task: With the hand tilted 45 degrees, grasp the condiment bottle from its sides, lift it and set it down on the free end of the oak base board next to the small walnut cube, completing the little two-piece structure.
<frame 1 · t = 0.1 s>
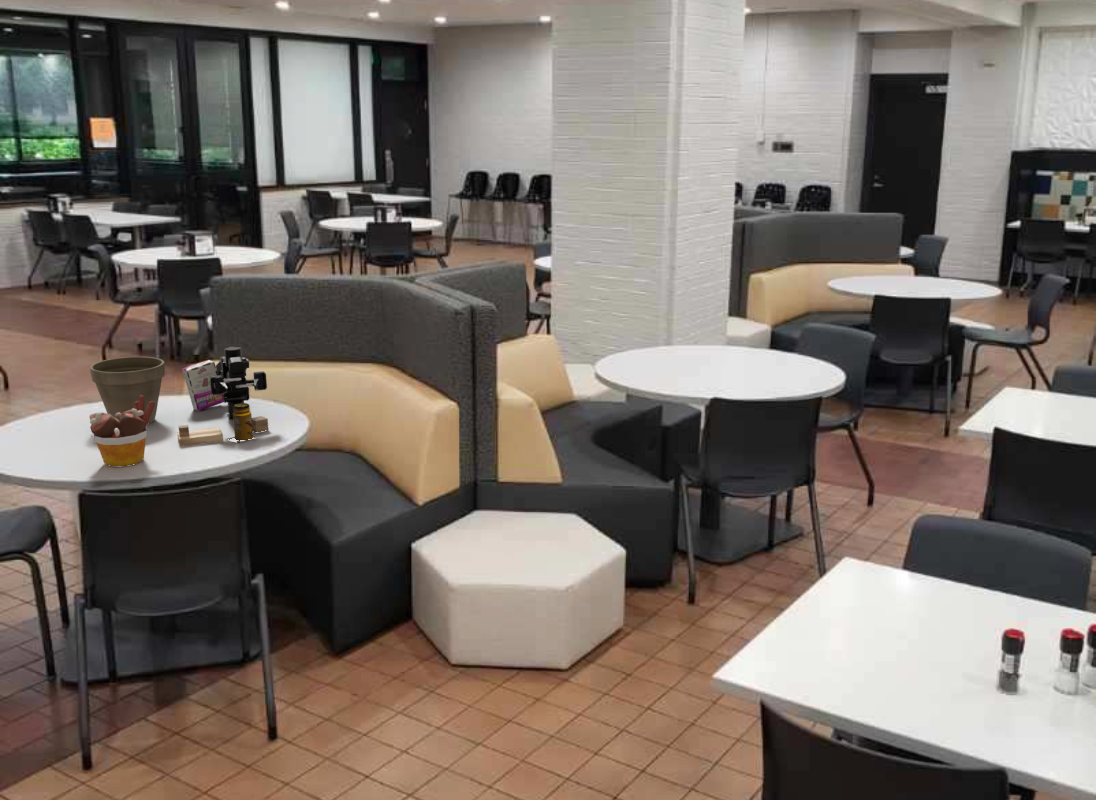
hand: (241, 388, 368), 16 cm above the table, tool horizontal, fingers open, 9 cm apart
bucket of meat: (126, 462, 345), on the table
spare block: (259, 430, 377), on the table
foundation: (200, 440, 366), on the table
plant pot: (134, 422, 390), on the table
condiment: (241, 439, 367), on the table
candy bar box: (209, 406, 408), point 1 cm above the table
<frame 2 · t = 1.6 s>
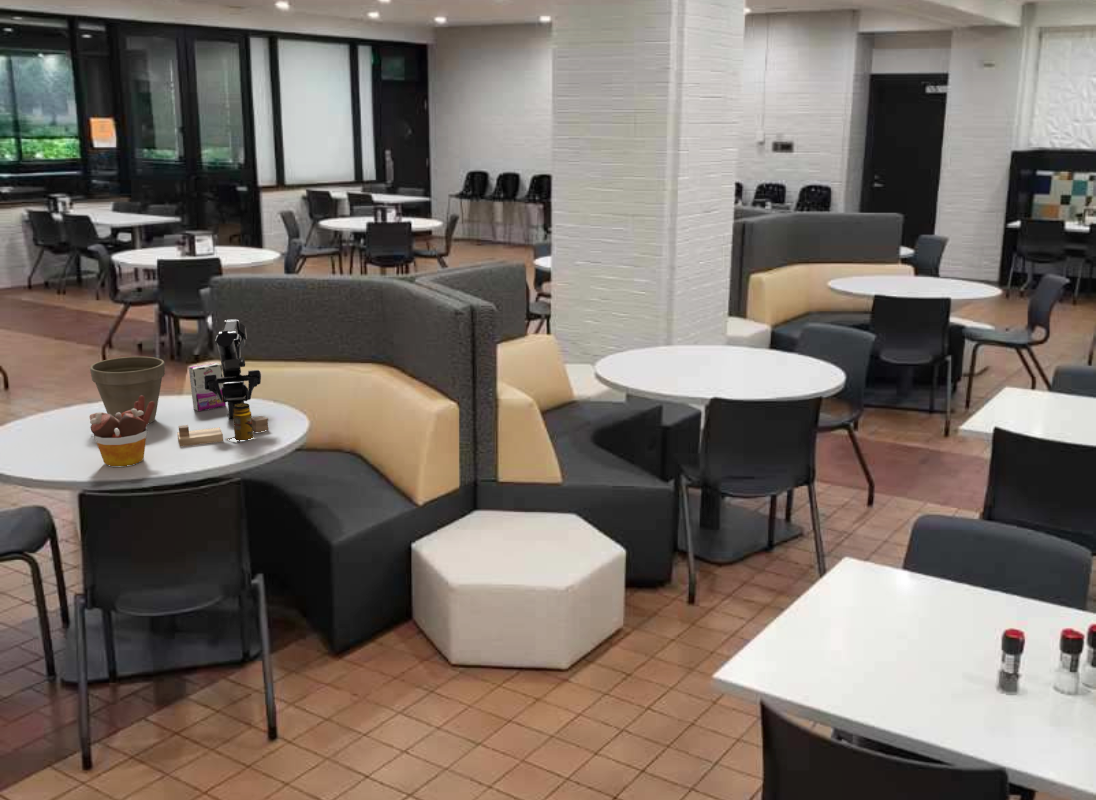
hand: (236, 400, 370), 12 cm above the table, tool tilted 45°, fingers open, 9 cm apart
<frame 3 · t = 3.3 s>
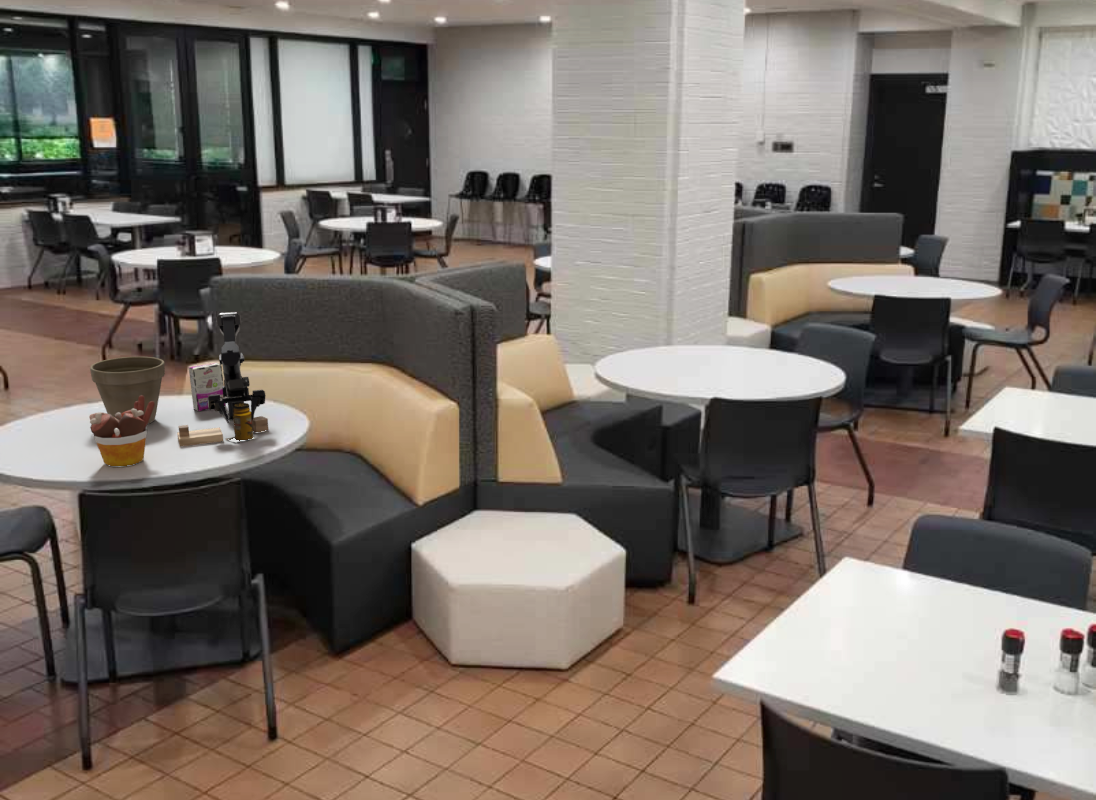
hand: (240, 420, 365), 7 cm above the table, tool tilted 45°, fingers open, 8 cm apart
condiment: (241, 439, 367), on the table, touching gripper
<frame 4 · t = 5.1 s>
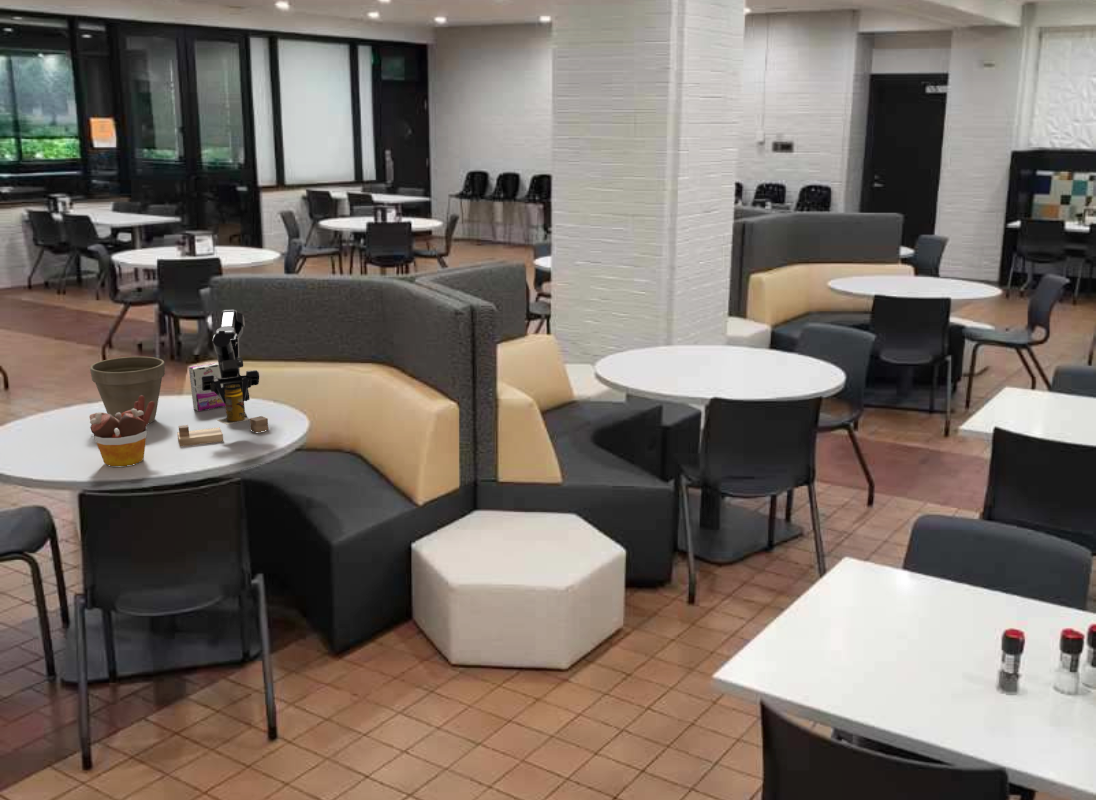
hand: (234, 401, 363), 13 cm above the table, tool tilted 45°, fingers closed on condiment, 6 cm apart
condiment: (233, 421, 366), point 6 cm above the table, touching gripper
when the fingers open (10 cm above the table, at t = 6.8 s): condiment stays where it is, resting on foundation.
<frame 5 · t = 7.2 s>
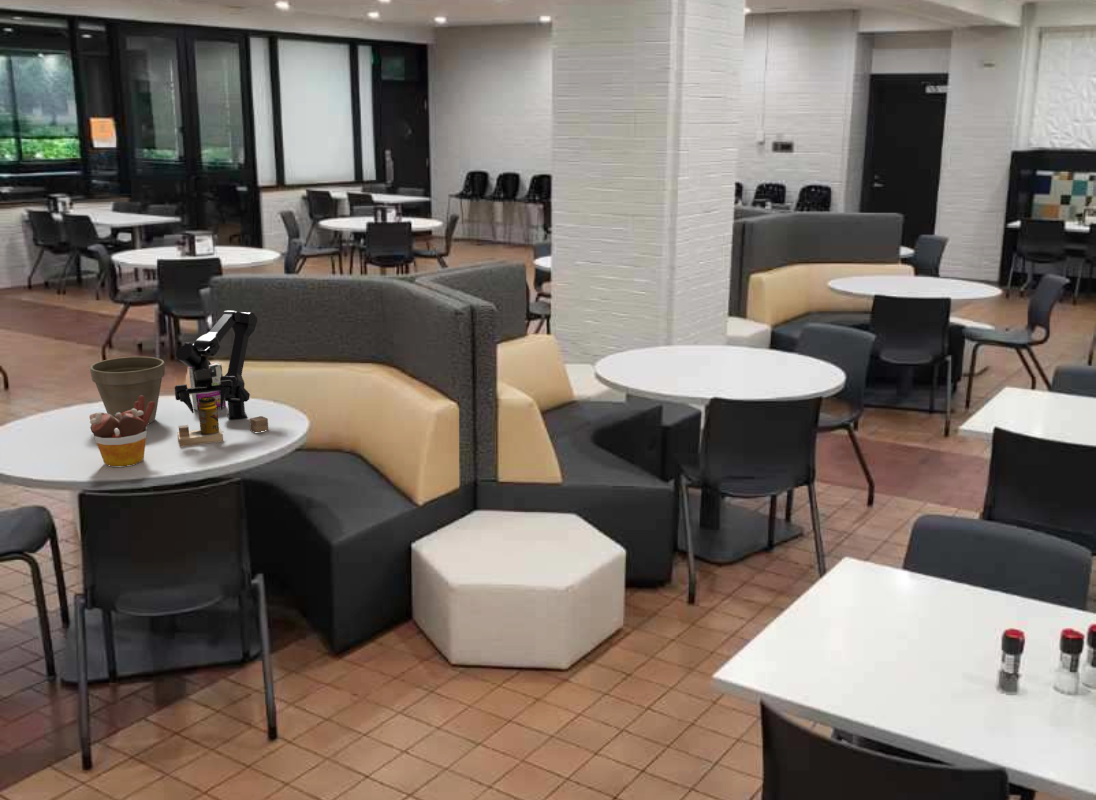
hand: (207, 411, 363), 10 cm above the table, tool tilted 45°, fingers open, 9 cm apart
condiment: (207, 433, 366), point 2 cm above the table, touching foundation
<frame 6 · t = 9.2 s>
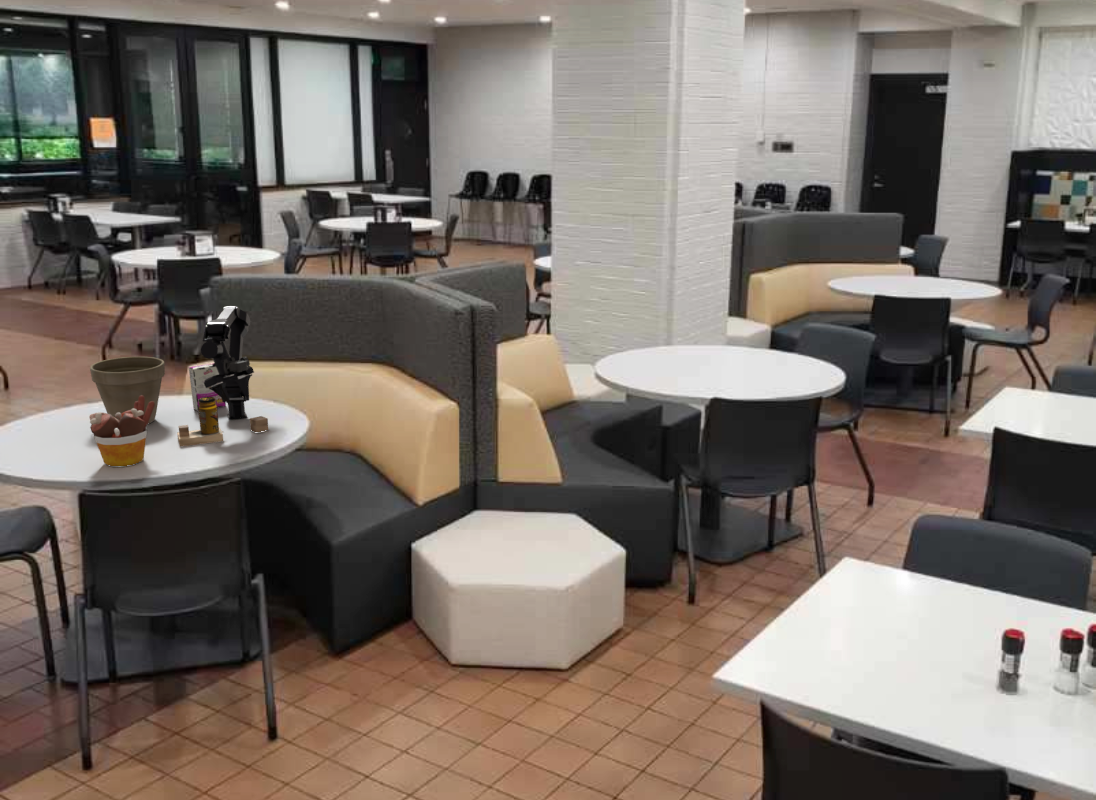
hand: (238, 399, 374), 11 cm above the table, tool tilted 25°, fingers open, 9 cm apart
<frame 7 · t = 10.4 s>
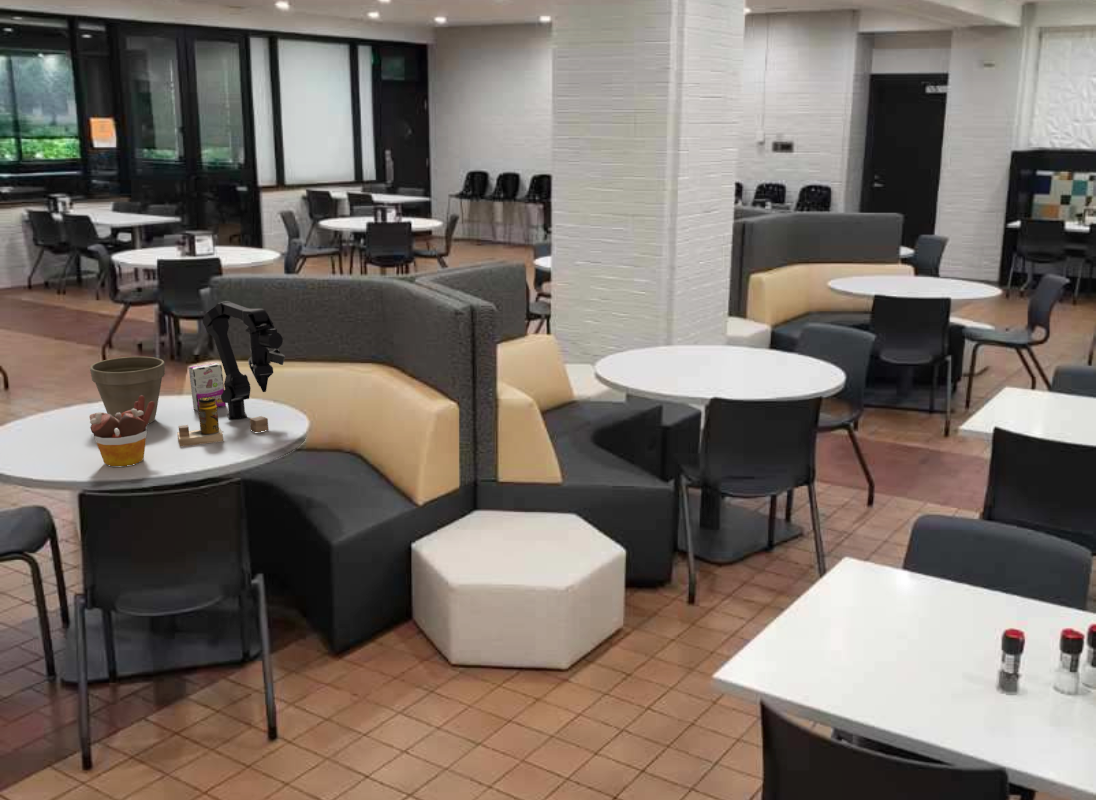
hand: (262, 389, 381), 13 cm above the table, tool pointing down, fingers open, 9 cm apart
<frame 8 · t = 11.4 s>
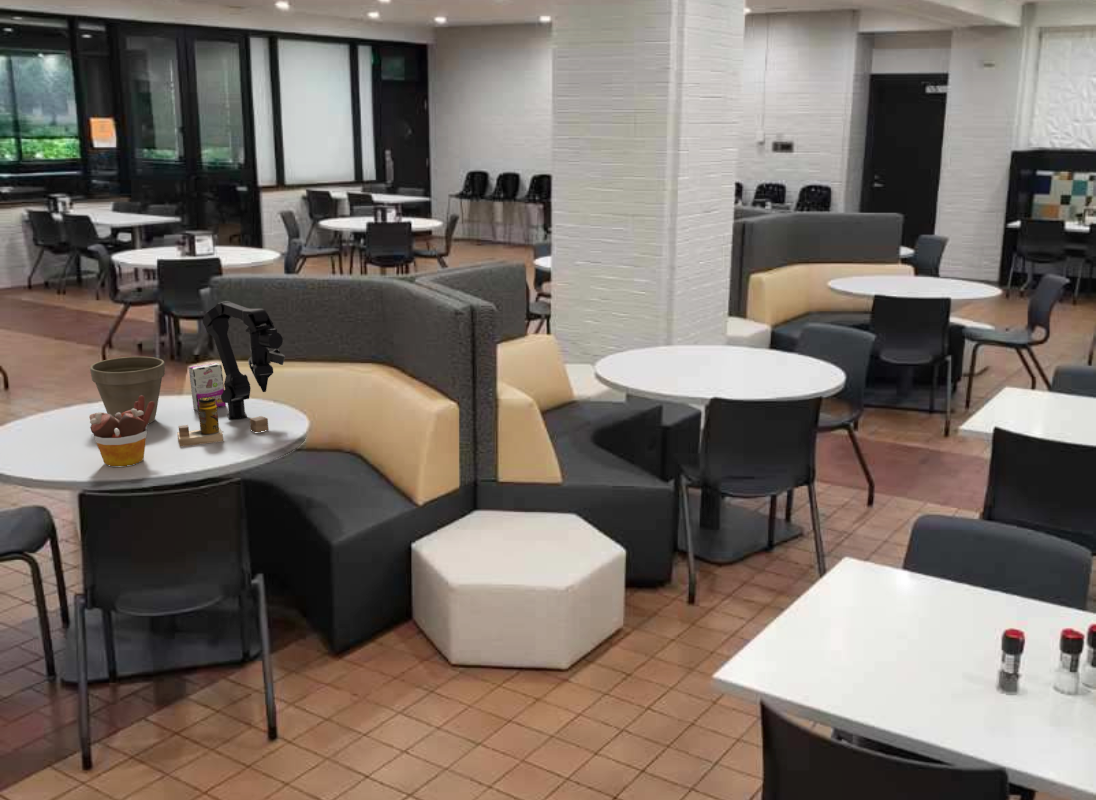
hand: (262, 389, 381), 13 cm above the table, tool pointing down, fingers open, 9 cm apart
at the end: condiment inside the target area on the foundation (0.3 cm from its centre), point 2.3 cm above the foundation's base; condiment tilted 0°; the gripper is holding nothing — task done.
